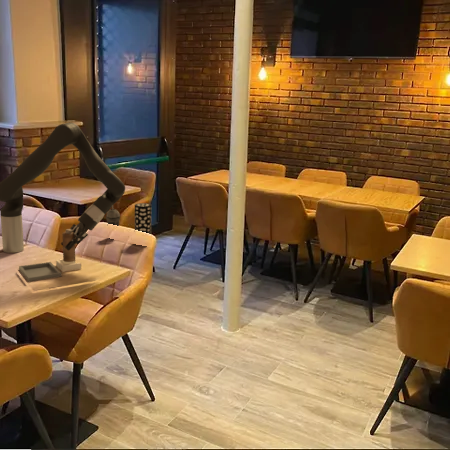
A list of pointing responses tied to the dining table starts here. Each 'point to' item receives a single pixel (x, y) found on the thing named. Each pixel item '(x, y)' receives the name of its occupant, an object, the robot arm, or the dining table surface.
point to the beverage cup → (113, 217)
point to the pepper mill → (67, 237)
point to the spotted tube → (143, 217)
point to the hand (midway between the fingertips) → (64, 247)
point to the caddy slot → (67, 265)
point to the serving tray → (40, 271)
